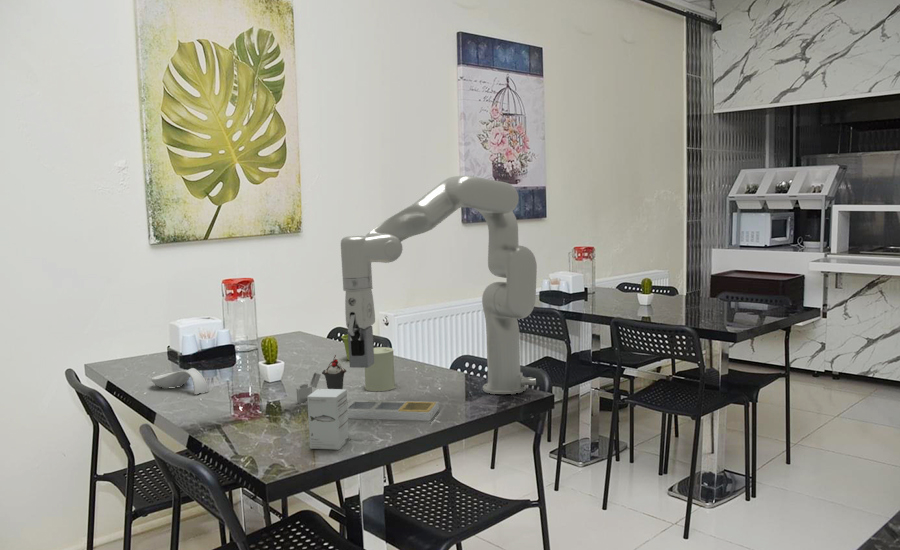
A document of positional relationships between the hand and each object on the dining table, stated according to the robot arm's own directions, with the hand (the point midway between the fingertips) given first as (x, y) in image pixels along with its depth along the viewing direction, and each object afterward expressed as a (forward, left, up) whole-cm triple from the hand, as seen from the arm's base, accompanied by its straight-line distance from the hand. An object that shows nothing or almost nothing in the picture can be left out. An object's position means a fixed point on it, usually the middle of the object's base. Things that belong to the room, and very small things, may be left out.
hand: (361, 352), depth 190 cm
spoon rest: (+69, -23, -18) cm, 74 cm away
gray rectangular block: (0, 0, -3) cm, 3 cm away
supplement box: (+1, +22, -17) cm, 28 cm away
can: (+5, -29, -17) cm, 34 cm away
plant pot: (+26, -66, -17) cm, 73 cm away
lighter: (+21, -13, -17) cm, 30 cm away
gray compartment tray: (-7, 0, -17) cm, 19 cm away
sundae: (+11, -8, -17) cm, 22 cm away
